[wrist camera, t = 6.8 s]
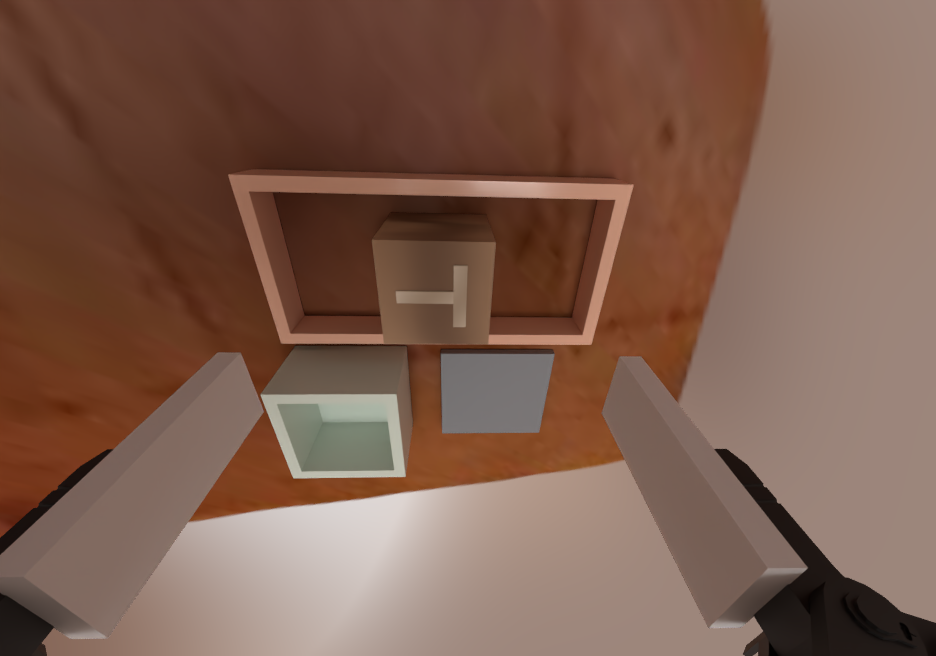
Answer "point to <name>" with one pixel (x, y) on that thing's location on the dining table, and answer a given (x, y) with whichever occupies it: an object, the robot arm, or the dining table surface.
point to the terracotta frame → (268, 235)
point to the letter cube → (434, 277)
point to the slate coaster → (494, 390)
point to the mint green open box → (342, 411)
